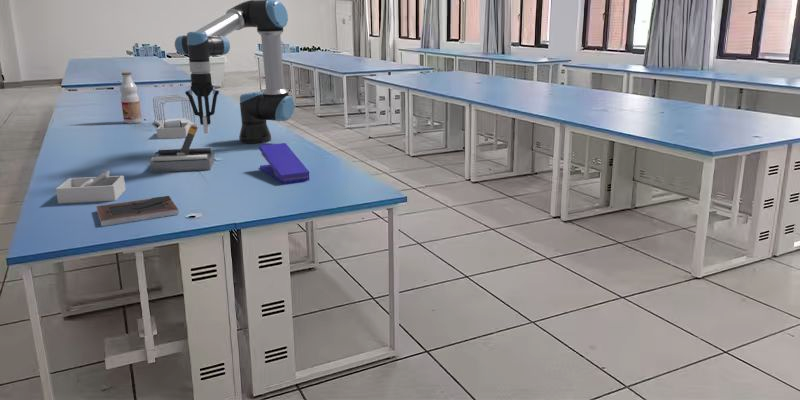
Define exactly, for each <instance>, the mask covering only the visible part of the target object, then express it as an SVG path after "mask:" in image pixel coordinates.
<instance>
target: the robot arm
mask: <svg viewBox="0 0 800 400" xmlns="http://www.w3.org/2000/svg"><path fill="white" fill-rule="evenodd" d="M288 20H289V15H288V10H287V9H286V6H285V5H284V3H282V1H280V0H247V1H243V2H241V3H238V4H236V5H235V6H233V7H231V8H230V9H227V11H226V12H225V14H223V15H221V16H220V17H218V18H216V19H215V20H212V21H211V22H209V23H208V24H206V25H204V26H203V27H200V28H199V29H197V30H195V31H187V33H186V35H179V36H177V37H176V39H175V41H174V48H175V50H176V52H177V53H178V54H180V55H186V56H188V60H189V61H188V62H189V71H190V73H191V74H190V82H191V86H190V89H188V90H186V91H185V95H186V97H188V99H189V100H190V107H191V109H192V112H193V111H194V116H196V117H197V116H198V117H199V123H200V126H201V125H202V126H203V134H209V125H211V116H213V115H215V111H216V104H217V99H218V95H219V93H220V90H219V89H216V88H214V85H213V84H212V83H213V82H212V74H211V64H210V63H211V61H210V57H213V56H214V57H215V56H223V55H224V56H225V55H226V54H229V52H230V49H231V43H230V40H229V39H228V38H227V37H226V36H227V35H230V34H231V33H232V32H234V31H235V30H236V31H239V30H242V29H245V28H256V31H257V33H258V35H260V38H261V47H262V48H261V51H262V58H263V59H262V60H263V61H262V62H263V69H264V70H263V71H264V82H265V89H264V91H254V92H247V93H243V94H241V95H240V96H239V105H240V106H239V107H240V117H241V118H240V119H241V128H240V132H239V136H238V139H239V142H240V143H243V144H260V143H261V144H262V143H267V142H269V141H272V134H271V132H270V128H269V126H268V123H267V121H275V122H286V121H288V120H290V119H291V118H292V117H293V115H294V112H295V106H296V103H295V100H294V98H293V97H292V96H290V95H289V90H287V89H286V87H285V75H284V63H283V53H282V51H283V50H282V49H283V48H282V39H281V38H282V37H281V35H282V33H283V32H284V28H285V27H286V26H287V24H288ZM211 93H212V95H213V96H212V103H211V107H210V102H209V101H210V100H209V96H210V94H211ZM193 94H194V95H195V96H196V97H197V104H198V105H196V103H195V100H194V96H193ZM202 98H203V99H204V107H205V109H204V107H203V99H202ZM197 107H198V108H197ZM210 109H211V110H210ZM204 110H205V115H204Z"/></svg>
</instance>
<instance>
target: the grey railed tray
mask: <svg viewBox="0 0 800 400" xmlns="http://www.w3.org/2000/svg"><path fill="white" fill-rule="evenodd" d="M211 151H212V149H211V147H200V148H199V147H198V148H196V147H195V148H189V153H204V152H211ZM177 153H181V151H180V148H177V149H176V148H175V149H173V148H172V149H159V150H157V155H158V154H177ZM202 159H207V155H188V156H165V157H156V156H152V157H151V158H150V160H151V161H153V162H156V161H179V160H202Z"/></svg>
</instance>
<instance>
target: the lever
mask: <svg viewBox="0 0 800 400" xmlns="http://www.w3.org/2000/svg"><path fill="white" fill-rule="evenodd" d="M198 129H199V127H198V126H197V127H196V126H193V125H191V127H190V128H189V131H188V134H187V136H186V138H184V141H183V144H182V147H181V148H182V149H181V151H182V153H185V154H186V153H187V152H188V150H189V149H191V148H190V147H191V144H192V143H193V141H194V138H195V136H196V134H197V131H198Z"/></svg>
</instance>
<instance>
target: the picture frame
mask: <svg viewBox="0 0 800 400" xmlns="http://www.w3.org/2000/svg"><path fill="white" fill-rule="evenodd" d="M96 212H97V214H98V218H99V222H100V224H101V225H100V226H101V227H108V226H114V225H120V224H126V223H132V222H133V221H134V222H139V220H140V221H145V220H146V219H147V220H151V219H152V220H153V219H158V218H159V217H160V218H164V217H165V216H166V217H172V216H171V215H173V216H177V215H176V214H179V215H180V213H179V208H178V207H177V205H176V204H175V203H174V201H173V200H172V198H171V196H170V195H165V196H156V197H151V198H145V199H140V200H132V201H131V200H130V201H123V202H117V203H110V204H103V205H97V206H96ZM160 218H159V219H160Z"/></svg>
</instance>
